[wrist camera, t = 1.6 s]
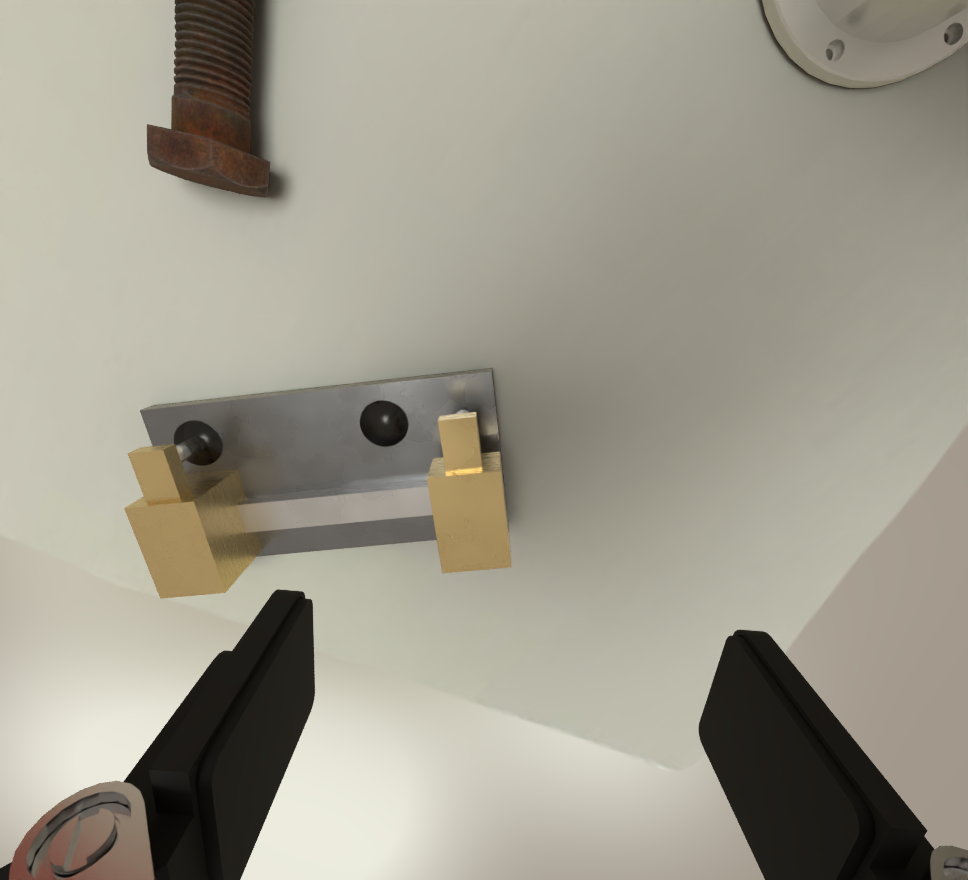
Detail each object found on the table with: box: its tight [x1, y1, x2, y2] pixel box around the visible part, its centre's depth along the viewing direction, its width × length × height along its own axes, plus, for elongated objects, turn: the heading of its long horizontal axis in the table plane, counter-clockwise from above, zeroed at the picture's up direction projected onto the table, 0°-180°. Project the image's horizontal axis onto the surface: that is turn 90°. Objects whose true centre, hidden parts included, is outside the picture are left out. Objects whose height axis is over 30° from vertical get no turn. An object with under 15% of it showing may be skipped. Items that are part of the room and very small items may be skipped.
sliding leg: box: [427, 410, 511, 573], centre depth 27 cm, size 4×9×4 cm, turn 6°
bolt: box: [147, 0, 270, 197], centre depth 21 cm, size 6×5×15 cm
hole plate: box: [124, 368, 509, 598], centre depth 28 cm, size 22×11×6 cm, turn 96°
